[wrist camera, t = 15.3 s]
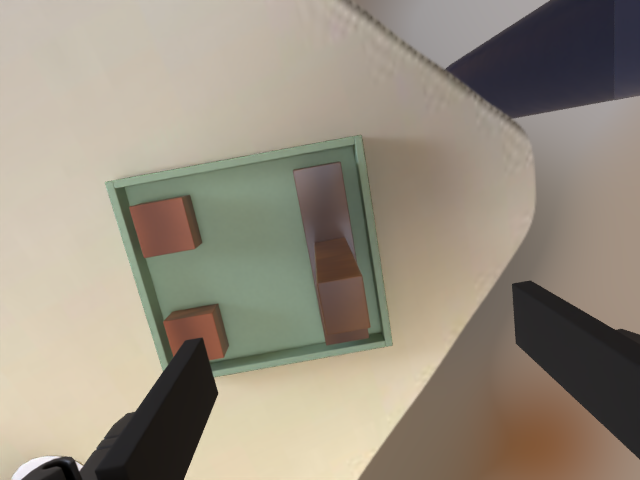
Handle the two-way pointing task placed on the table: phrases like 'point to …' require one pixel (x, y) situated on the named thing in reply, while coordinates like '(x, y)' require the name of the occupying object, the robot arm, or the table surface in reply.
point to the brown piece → (332, 253)
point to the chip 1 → (166, 226)
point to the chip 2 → (198, 329)
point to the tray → (253, 255)
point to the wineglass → (34, 466)
